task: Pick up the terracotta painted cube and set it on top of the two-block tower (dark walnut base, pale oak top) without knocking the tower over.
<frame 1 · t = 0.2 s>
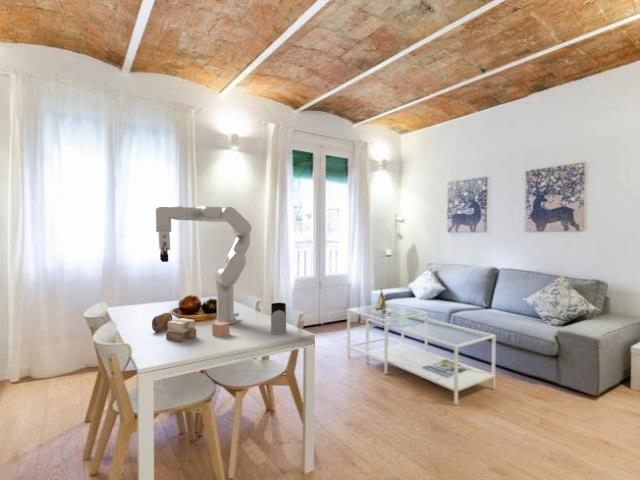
hand: (164, 261, 203), 37 cm above the table, tool pointing down, fingers open, 9 cm apart
brown rounded slab: (162, 330, 204), on the table
top block: (181, 329, 188), point 4 cm above the table, touching base block
cube: (221, 335, 193), on the table
base block: (181, 338, 188), on the table, touching top block
glass holder: (278, 331, 200), on the table
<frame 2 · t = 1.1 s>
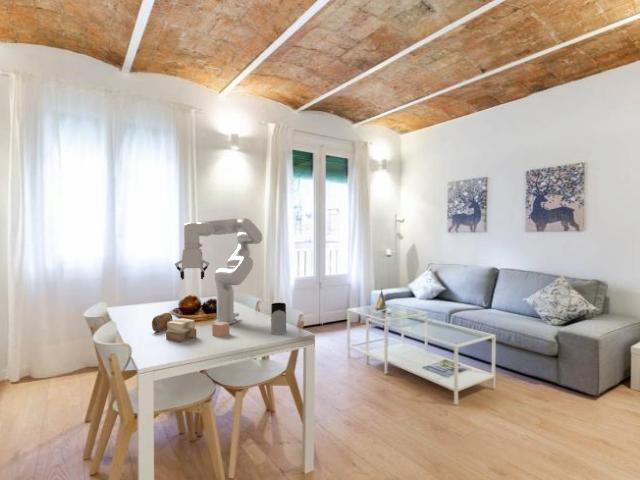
hand: (192, 279, 197), 28 cm above the table, tool pointing down, fingers open, 9 cm apart
nothing on the table moved.
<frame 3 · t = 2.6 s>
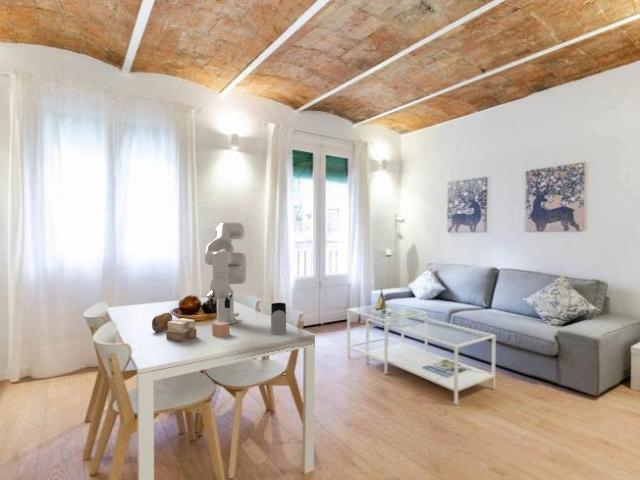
hand: (220, 309, 192), 13 cm above the table, tool pointing down, fingers open, 9 cm apart
nothing on the table moved.
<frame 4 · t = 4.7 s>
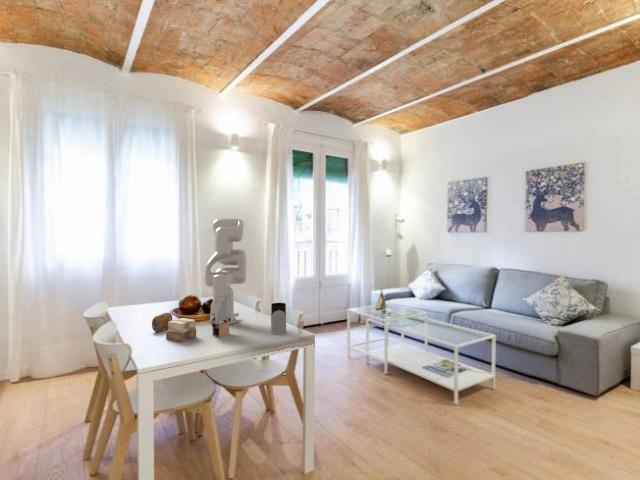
hand: (221, 333, 193), 1 cm above the table, tool pointing down, fingers closed on cube, 6 cm apart
cube: (221, 334, 193), on the table, touching gripper
everything else where it was.
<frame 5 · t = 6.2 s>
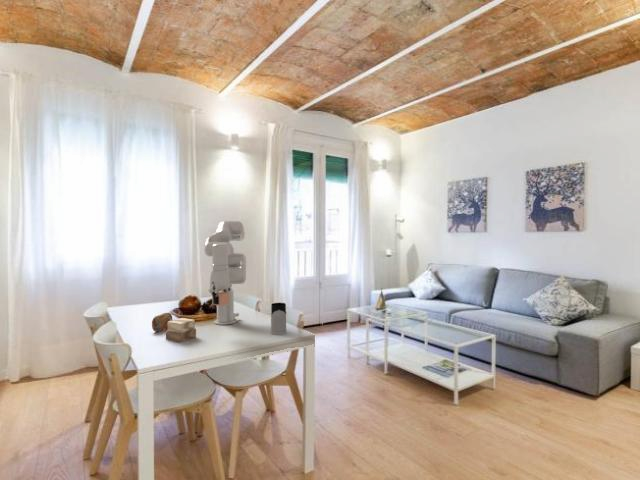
hand: (220, 302, 194), 17 cm above the table, tool pointing down, fingers closed on cube, 6 cm apart
cube: (220, 304, 194), point 16 cm above the table, touching gripper
everything else where it was.
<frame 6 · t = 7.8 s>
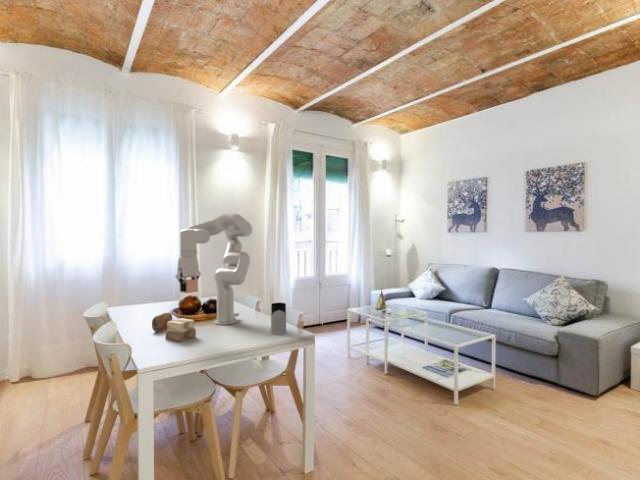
hand: (188, 290, 188), 24 cm above the table, tool pointing down, fingers closed on cube, 6 cm apart
cube: (188, 291, 188), point 23 cm above the table, touching gripper
everything else where it was.
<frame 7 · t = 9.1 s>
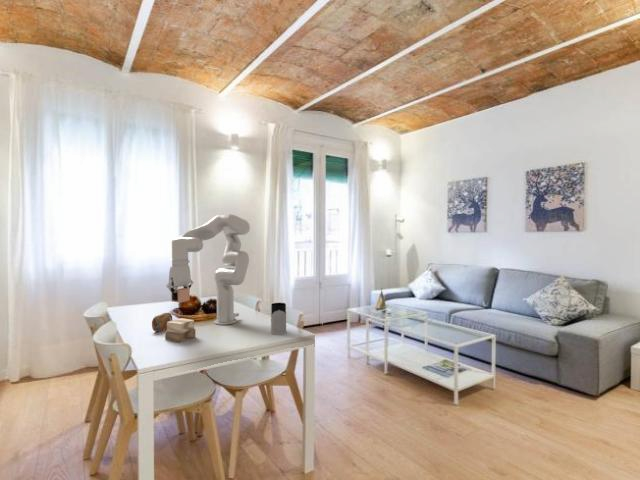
hand: (180, 299, 187), 20 cm above the table, tool pointing down, fingers closed on cube, 6 cm apart
cube: (180, 300, 187), point 19 cm above the table, touching gripper
everything else where it was.
when the fingers open (11 cm above the table, at t = 11.0 s): cube drops 2 cm, point 9 cm above the table.
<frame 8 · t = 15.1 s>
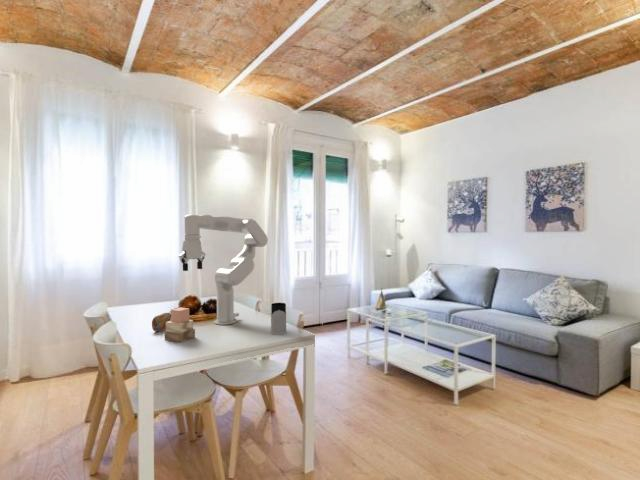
hand: (192, 269, 202), 32 cm above the table, tool pointing down, fingers open, 9 cm apart
cube: (180, 321, 187), point 9 cm above the table
everything else where it was.
at the end: cube 0.4 cm off-centre on the top block, point 4.5 cm above the top block's base; top block point 4.1 cm above the table; base block moved 0.8 cm from its start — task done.
